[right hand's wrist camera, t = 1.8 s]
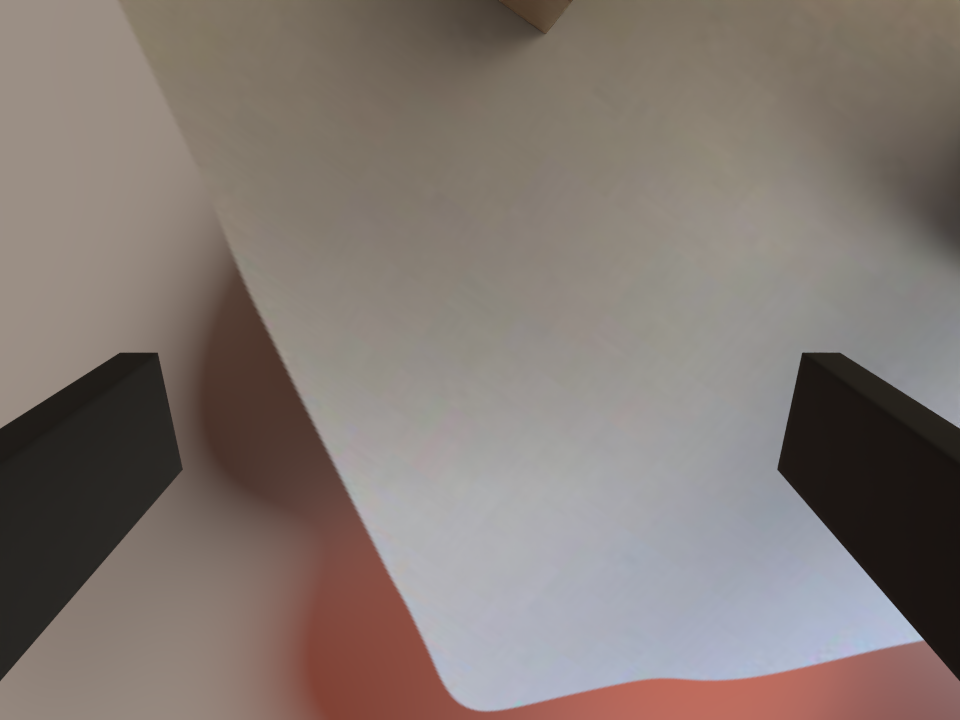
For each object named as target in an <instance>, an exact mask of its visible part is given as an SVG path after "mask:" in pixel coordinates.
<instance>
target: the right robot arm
mask: <svg viewBox="0 0 960 720" xmlns="http://www.w3.org/2000/svg"><path fill="white" fill-rule="evenodd" d="M777 470H778V471H779V472H780V473H781V474H782V475H783V477H784V478H785V479H786V480H787V481H788V482H789V484H790V485H791V486H792V487H793V488H794V489H795V490H796V492H797V493H798V494H799V495H800V496H801V497H802V499H803V500H804V501H805V502H806V503H807V504H808V506H809V507H810V508H811V509H812V510H813V511H814V513H815V514H816V515H817V516H818V517H819V518H820V519H821V521H822V522H823V523H824V524H825V525H826V526H827V528H828V529H829V530H830V531H831V532H832V533H833V535H834V536H835V537H836V538H837V539H838V540H839V542H840V543H841V544H842V545H843V546H844V547H845V548H846V550H847V551H848V552H849V553H850V554H851V555H852V557H853V558H854V559H855V560H856V561H857V562H858V564H859V565H860V566H861V567H862V568H863V569H864V571H865V572H866V573H867V574H868V575H869V576H870V577H871V579H872V580H873V581H874V582H875V583H876V584H877V586H878V587H879V588H880V589H881V590H882V591H883V593H884V594H885V595H886V596H887V597H888V598H889V600H890V601H891V602H892V603H893V604H894V605H895V606H896V608H897V609H898V610H899V611H900V612H901V613H902V615H903V616H904V617H905V618H906V619H907V620H908V622H909V623H910V624H911V625H912V626H913V627H914V629H915V630H916V631H917V632H918V633H919V634H920V635H921V637H922V638H923V639H924V640H925V641H926V642H927V644H928V645H929V646H930V647H931V648H932V649H933V651H934V652H935V653H936V654H937V655H938V656H939V657H940V659H941V660H942V661H943V662H944V663H945V664H946V666H947V667H948V668H949V669H950V670H951V671H952V673H953V674H954V675H955V676H956V677H957V678H958V680H959V681H960V429H959V428H958V427H956V426H955V425H953V424H952V423H950V422H948V421H947V420H945V419H944V418H942V417H941V416H939V415H937V414H936V413H934V412H933V411H931V410H929V409H928V408H926V407H925V406H923V405H922V404H920V403H918V402H917V401H915V400H914V399H912V398H911V397H909V396H907V395H906V394H904V393H903V392H901V391H899V390H898V389H896V388H895V387H893V386H892V385H890V384H888V383H887V382H885V381H884V380H882V379H881V378H879V377H877V376H876V375H874V374H873V373H871V372H870V371H868V370H866V369H865V368H863V367H862V366H860V365H858V364H857V363H855V362H854V361H852V360H851V359H849V358H847V357H846V356H844V355H843V354H841V353H802V357H801V361H800V366H799V371H798V375H797V380H796V385H795V389H794V394H793V399H792V403H791V408H790V413H789V417H788V422H787V427H786V431H785V436H784V441H783V445H782V450H781V455H780V459H779V464H778V469H777ZM181 471H182V464H181V459H180V455H179V450H178V445H177V441H176V436H175V431H174V427H173V422H172V417H171V413H170V408H169V403H168V399H167V394H166V389H165V385H164V380H163V375H162V371H161V366H160V361H159V357H158V353H119V354H117V355H116V356H114V357H113V358H111V359H110V360H108V361H106V362H105V363H103V364H102V365H100V366H98V367H97V368H95V369H94V370H92V371H91V372H89V373H87V374H86V375H84V376H83V377H81V378H79V379H78V380H76V381H75V382H73V383H72V384H70V385H68V386H67V387H65V388H64V389H62V390H61V391H59V392H57V393H56V394H54V395H53V396H51V397H49V398H48V399H46V400H45V401H43V402H42V403H40V404H39V405H37V406H35V407H34V408H32V409H31V410H29V411H27V412H26V413H24V414H23V415H21V416H20V417H18V418H16V419H15V420H13V421H12V422H10V423H8V424H7V425H5V426H4V427H2V428H1V429H0V681H1V679H2V678H3V677H4V676H5V675H6V674H7V673H8V671H9V670H10V669H11V668H12V667H13V666H14V664H15V663H16V662H17V661H18V660H19V659H20V657H21V656H22V655H23V654H24V653H25V652H26V651H27V649H28V648H29V647H30V646H31V645H32V644H33V642H34V641H35V640H36V639H37V638H38V637H39V635H40V634H41V633H42V632H43V631H44V630H45V628H46V627H47V626H48V625H49V624H50V623H51V621H52V620H53V619H54V618H55V617H56V616H57V615H58V613H59V612H60V611H61V610H62V609H63V608H64V606H65V605H66V604H67V603H68V602H69V601H70V600H71V598H72V597H73V596H74V595H75V594H76V593H77V591H78V590H79V589H80V588H81V587H82V586H83V584H84V583H85V582H86V581H87V580H88V579H89V577H90V576H91V575H92V574H93V573H94V572H95V571H96V569H97V568H98V567H99V566H100V565H101V564H102V562H103V561H104V560H105V559H106V558H107V557H108V555H109V554H110V553H111V552H112V551H113V550H114V548H115V547H116V546H117V545H118V544H119V543H120V541H121V540H122V539H123V538H124V537H125V536H126V534H127V533H128V532H129V531H130V530H131V529H132V528H133V526H134V525H135V524H136V523H137V522H138V521H139V519H140V518H141V517H142V516H143V515H144V514H145V513H146V511H147V510H148V509H149V508H150V507H151V506H152V504H153V503H154V502H155V501H156V500H157V499H158V497H159V496H160V495H161V494H162V493H163V492H164V490H165V489H166V488H167V487H168V486H169V485H170V484H171V482H172V481H173V480H174V479H175V478H176V477H177V475H178V474H179V473H180V472H181Z"/></svg>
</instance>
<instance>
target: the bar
mask: <svg viewBox="0 0 960 720" xmlns="http://www.w3.org/2000/svg"><path fill="white" fill-rule="evenodd" d="M499 1H500V2H501V3H503V4H504V5H506V6H507V7H508V8H510V9H511V10H512V11H514V12H515V13H517V14H518V15H519V16H521V17H522V18H524V19H525V20H526V21H528V22H529V23H531V24H532V25H533V26H535V27H536V28H538V29H539V30H540V31H542V32H543V33H544V34H546V33H547V32H548V30H549V29H550V28H551V27H552V25H553V24H554V23H555V22H556V21H557V19H558V18H559V17H560V16H561V14H562V13H563V12H564V11H565V9H566V8H567V7H568V6H569V4H570V3H571V2H572V0H499Z"/></svg>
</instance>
